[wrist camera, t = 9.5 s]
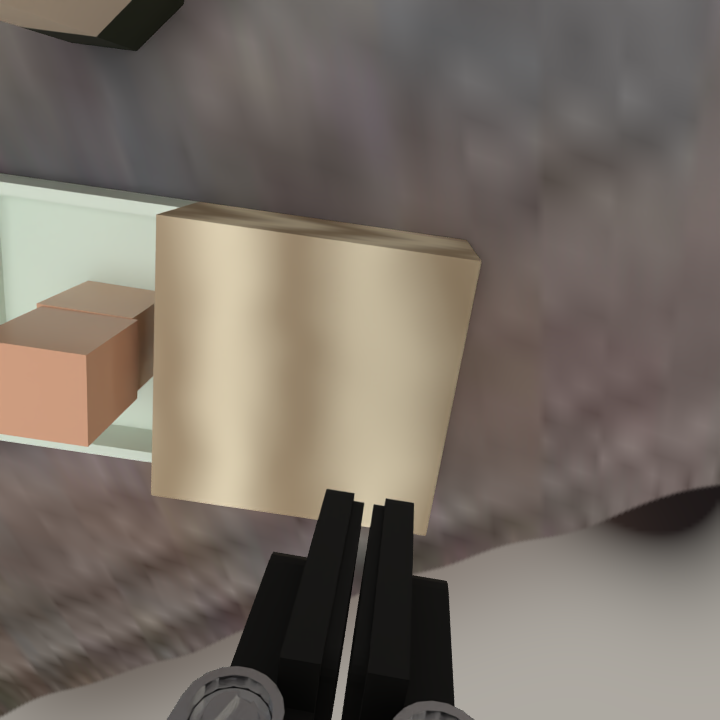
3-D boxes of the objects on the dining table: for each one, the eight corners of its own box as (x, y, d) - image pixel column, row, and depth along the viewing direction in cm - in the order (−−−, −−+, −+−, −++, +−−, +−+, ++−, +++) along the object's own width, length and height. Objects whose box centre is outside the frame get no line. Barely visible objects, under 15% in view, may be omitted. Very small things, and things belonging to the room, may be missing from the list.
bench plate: (466, 240, 31) (481, 261, 26) (421, 474, 36) (425, 535, 31) (199, 201, 32) (156, 214, 26) (189, 440, 36) (151, 495, 31)
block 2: (85, 355, 23) (-29, 338, 23) (88, 446, 25) (-21, 431, 25) (138, 319, 28) (42, 305, 28) (137, 398, 29) (45, 384, 29)
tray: (199, 201, 32) (172, 209, 28) (189, 440, 36) (165, 474, 33) (-10, 171, 32) (-65, 175, 28) (8, 413, 36) (-37, 445, 33)
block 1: (132, 318, 28) (36, 303, 28) (131, 397, 29) (39, 382, 29) (170, 293, 33) (87, 280, 33) (167, 361, 34) (88, 349, 34)
